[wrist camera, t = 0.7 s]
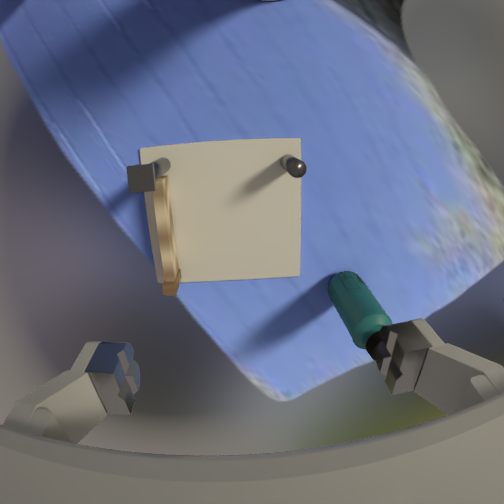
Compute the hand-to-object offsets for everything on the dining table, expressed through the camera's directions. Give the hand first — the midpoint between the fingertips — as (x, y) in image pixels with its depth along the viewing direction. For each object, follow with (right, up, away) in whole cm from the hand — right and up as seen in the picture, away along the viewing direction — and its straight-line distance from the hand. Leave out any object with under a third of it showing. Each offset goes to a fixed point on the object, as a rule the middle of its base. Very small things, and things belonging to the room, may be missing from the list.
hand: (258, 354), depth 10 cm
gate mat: (-5, +9, +41) cm, 42 cm away
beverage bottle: (+16, -2, +47) cm, 50 cm away
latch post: (+5, +17, +38) cm, 42 cm away
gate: (-13, +7, +40) cm, 43 cm away
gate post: (-14, +17, +37) cm, 43 cm away
